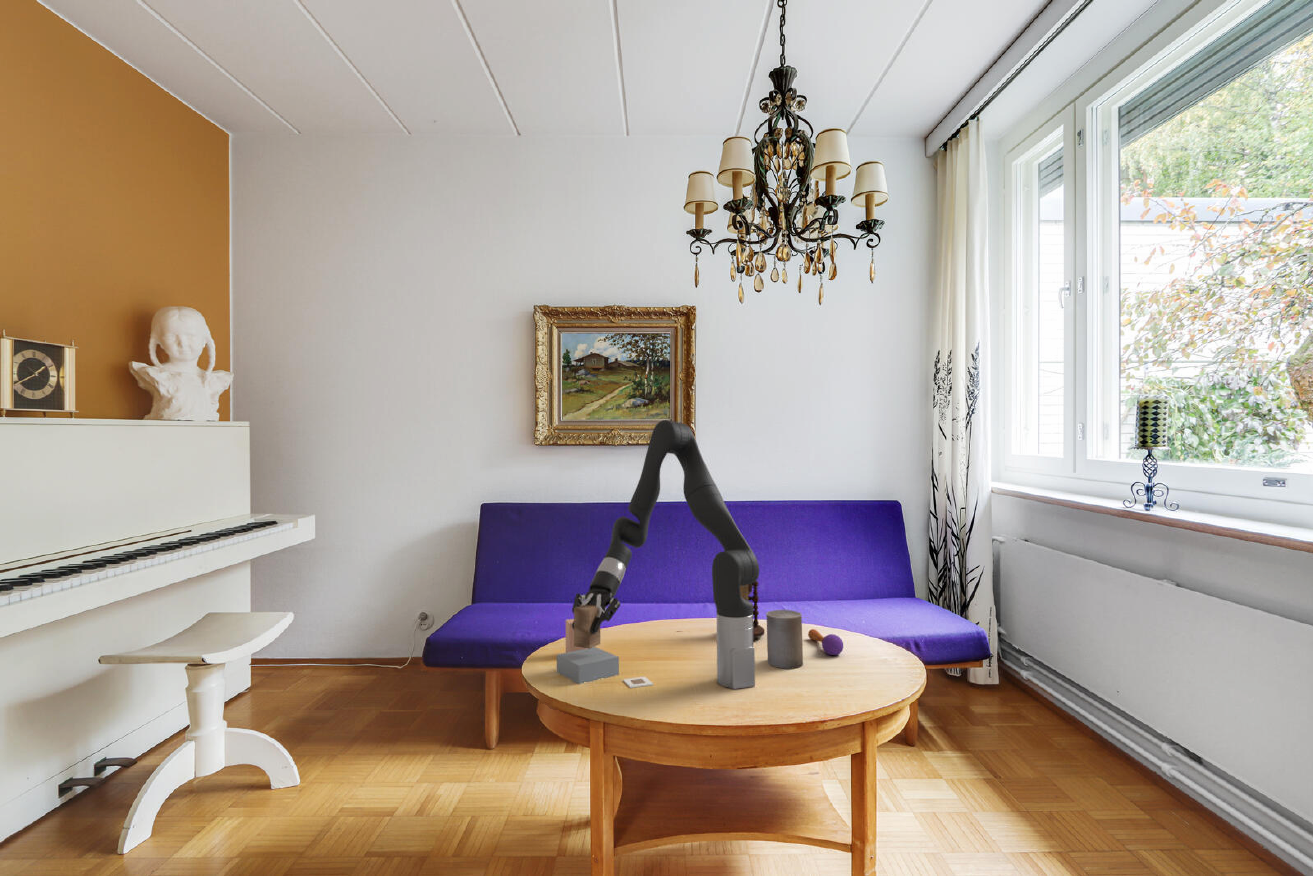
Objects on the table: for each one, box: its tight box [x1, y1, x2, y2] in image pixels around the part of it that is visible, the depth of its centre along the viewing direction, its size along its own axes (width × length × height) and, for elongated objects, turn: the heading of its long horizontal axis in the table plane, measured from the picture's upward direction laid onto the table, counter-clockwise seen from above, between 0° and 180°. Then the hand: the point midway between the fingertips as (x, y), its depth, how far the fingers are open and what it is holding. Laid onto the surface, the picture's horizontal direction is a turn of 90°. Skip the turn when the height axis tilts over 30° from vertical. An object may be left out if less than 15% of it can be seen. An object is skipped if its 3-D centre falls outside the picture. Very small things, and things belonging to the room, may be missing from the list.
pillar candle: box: [765, 608, 804, 669], centre depth 179 cm, size 10×10×15 cm
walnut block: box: [573, 605, 601, 649], centre depth 172 cm, size 5×5×10 cm
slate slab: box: [556, 646, 620, 685], centre depth 171 cm, size 12×12×5 cm
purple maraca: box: [807, 628, 844, 656], centre depth 194 cm, size 6×6×20 cm
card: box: [622, 676, 654, 689], centre depth 164 cm, size 6×6×1 cm
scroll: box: [740, 580, 765, 642], centre depth 207 cm, size 15×15×20 cm
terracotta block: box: [565, 618, 588, 653], centre depth 188 cm, size 5×5×10 cm
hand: (583, 630), depth 170 cm, fingers closed on walnut block, 5 cm apart
